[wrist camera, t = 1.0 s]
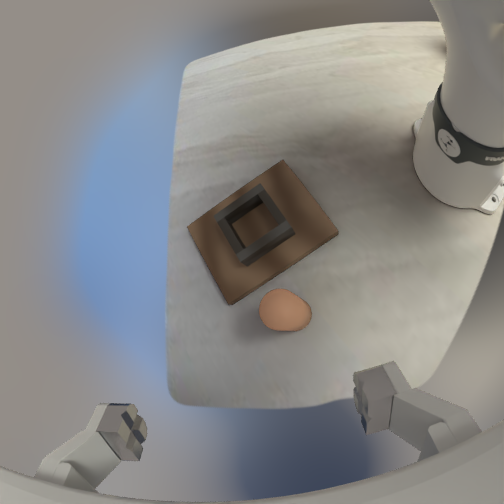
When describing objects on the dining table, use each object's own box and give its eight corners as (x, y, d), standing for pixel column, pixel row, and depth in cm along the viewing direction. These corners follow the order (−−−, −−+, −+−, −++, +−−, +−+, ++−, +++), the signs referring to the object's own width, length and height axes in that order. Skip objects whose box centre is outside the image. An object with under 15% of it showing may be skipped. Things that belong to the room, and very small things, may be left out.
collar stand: (285, 164, 48) (278, 149, 44) (338, 233, 43) (336, 223, 39) (191, 229, 50) (177, 220, 46) (232, 304, 45) (219, 301, 41)
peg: (300, 292, 42) (286, 280, 33) (317, 319, 41) (308, 315, 32) (273, 309, 43) (251, 303, 34) (290, 337, 41) (272, 338, 32)
